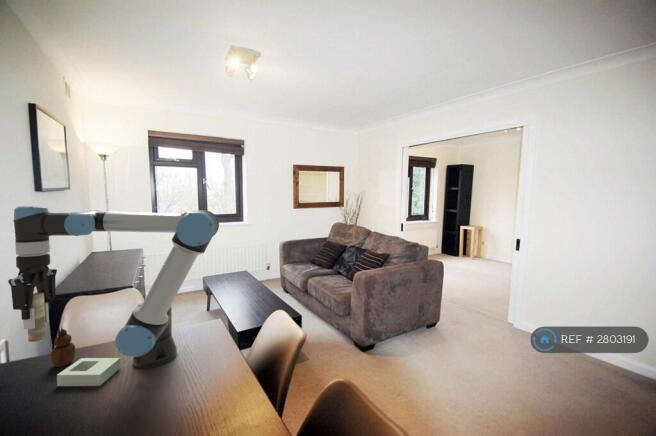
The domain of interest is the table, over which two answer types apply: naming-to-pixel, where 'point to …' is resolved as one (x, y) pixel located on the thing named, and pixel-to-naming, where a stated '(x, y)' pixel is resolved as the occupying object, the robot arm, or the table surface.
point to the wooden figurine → (62, 349)
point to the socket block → (88, 372)
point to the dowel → (38, 318)
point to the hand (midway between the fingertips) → (36, 324)
